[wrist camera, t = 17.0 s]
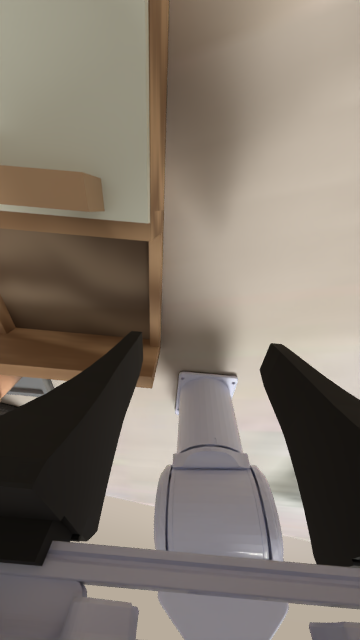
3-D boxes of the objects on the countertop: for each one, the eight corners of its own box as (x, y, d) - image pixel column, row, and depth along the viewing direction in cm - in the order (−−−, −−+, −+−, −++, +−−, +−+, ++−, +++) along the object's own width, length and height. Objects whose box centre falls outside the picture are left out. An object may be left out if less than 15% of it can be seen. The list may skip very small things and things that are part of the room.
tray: (55, 391, 29) (50, 397, 28) (-9, 385, 29) (-16, 391, 28) (33, 340, 24) (26, 346, 23) (-44, 333, 24) (-55, 339, 23)
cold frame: (160, 348, 24) (152, 388, 18) (14, 336, 24) (-35, 371, 18) (172, -121, 9) (146, -599, 4) (-222, -155, 9) (-812, -673, 4)
